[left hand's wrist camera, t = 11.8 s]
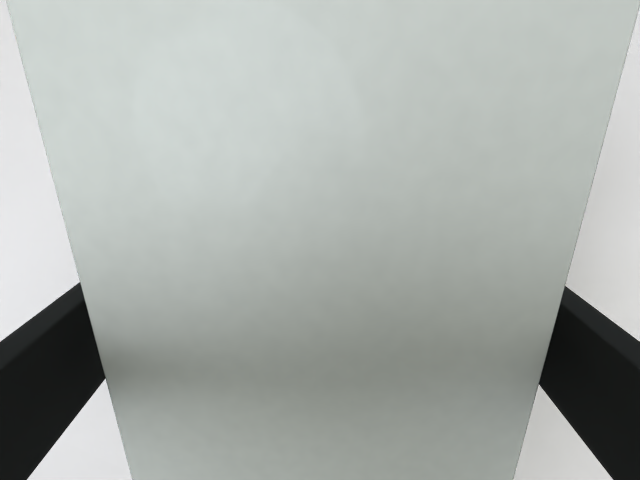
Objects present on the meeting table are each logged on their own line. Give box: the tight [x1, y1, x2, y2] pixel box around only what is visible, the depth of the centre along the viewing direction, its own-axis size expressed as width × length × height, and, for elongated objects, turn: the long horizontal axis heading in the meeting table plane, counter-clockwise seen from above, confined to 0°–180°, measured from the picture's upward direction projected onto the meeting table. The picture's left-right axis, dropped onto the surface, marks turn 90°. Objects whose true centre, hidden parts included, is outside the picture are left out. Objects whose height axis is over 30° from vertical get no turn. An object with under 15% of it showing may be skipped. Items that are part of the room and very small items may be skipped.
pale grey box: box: [6, 0, 640, 480], centre depth 11 cm, size 20×11×8 cm, turn 0°
